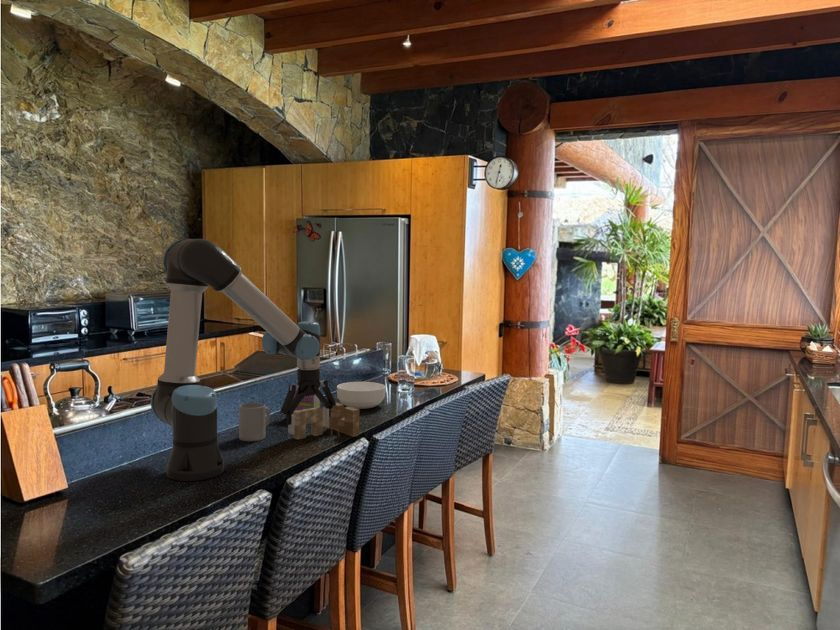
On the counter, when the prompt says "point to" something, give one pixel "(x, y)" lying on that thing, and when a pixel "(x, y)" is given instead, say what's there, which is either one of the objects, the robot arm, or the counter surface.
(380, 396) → the bowl
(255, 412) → the mug
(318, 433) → the notched wooden horseshoe piece
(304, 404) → the box
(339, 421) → the notched wooden block
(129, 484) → the counter surface
